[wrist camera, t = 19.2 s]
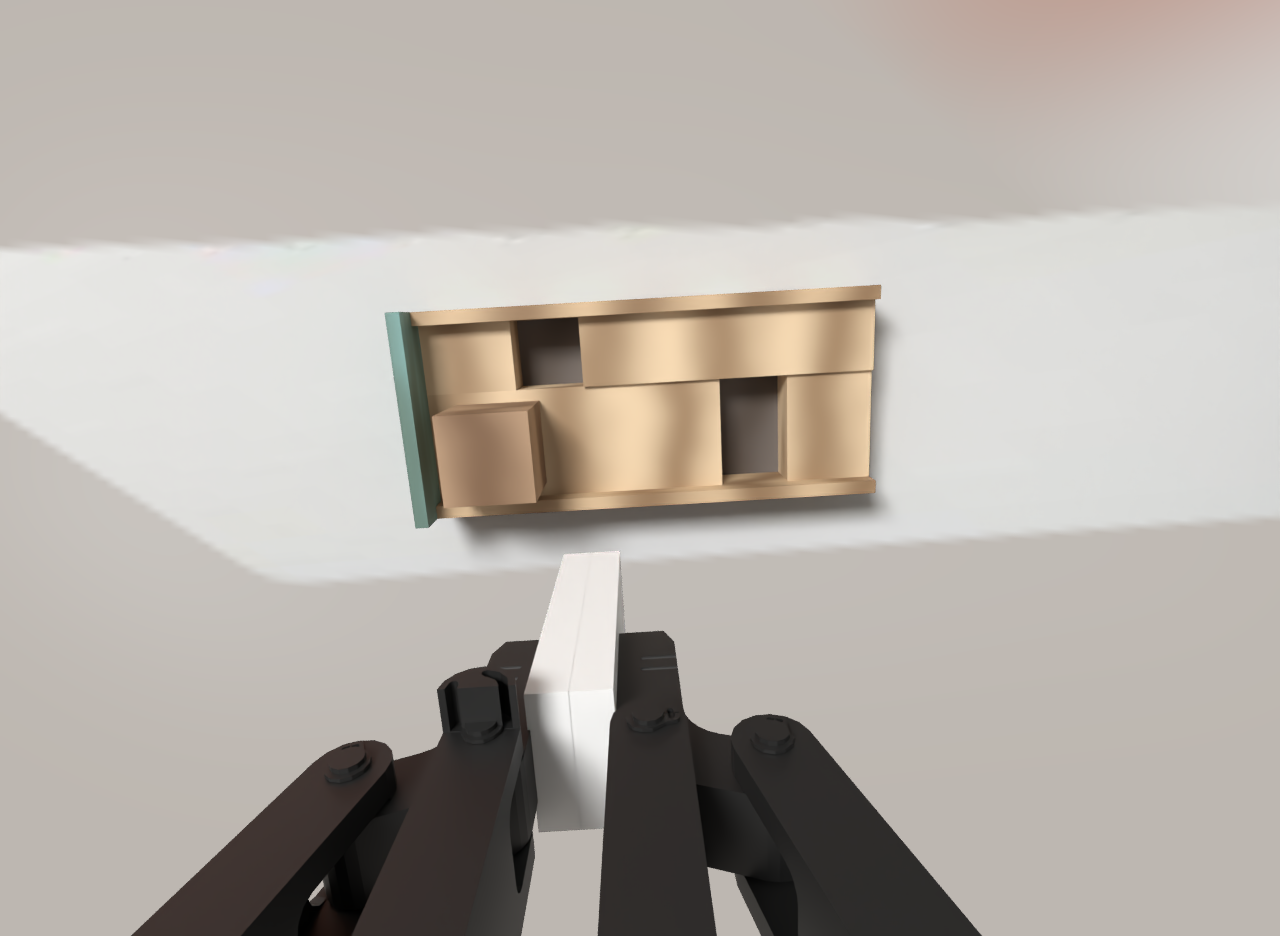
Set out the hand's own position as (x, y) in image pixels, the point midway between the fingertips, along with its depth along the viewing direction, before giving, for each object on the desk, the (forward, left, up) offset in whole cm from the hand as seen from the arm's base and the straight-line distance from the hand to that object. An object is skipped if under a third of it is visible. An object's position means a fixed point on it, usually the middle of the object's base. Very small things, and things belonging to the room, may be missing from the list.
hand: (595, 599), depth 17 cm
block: (+7, +1, -22) cm, 23 cm away
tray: (-1, -3, -24) cm, 25 cm away
